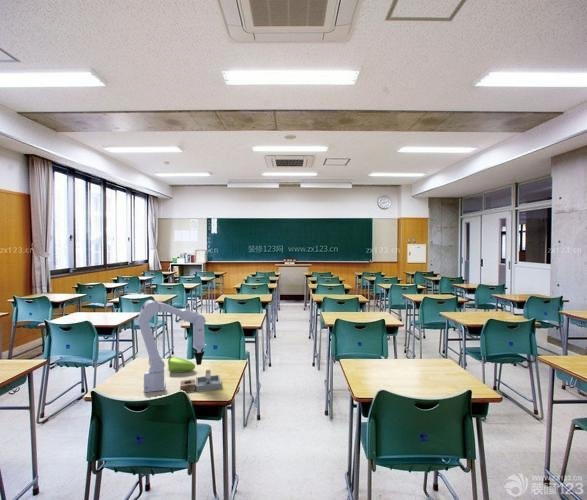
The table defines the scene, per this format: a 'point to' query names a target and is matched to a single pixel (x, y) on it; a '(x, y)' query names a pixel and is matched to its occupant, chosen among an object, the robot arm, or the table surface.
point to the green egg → (180, 365)
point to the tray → (203, 386)
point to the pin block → (187, 385)
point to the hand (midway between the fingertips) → (198, 362)
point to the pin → (208, 376)
